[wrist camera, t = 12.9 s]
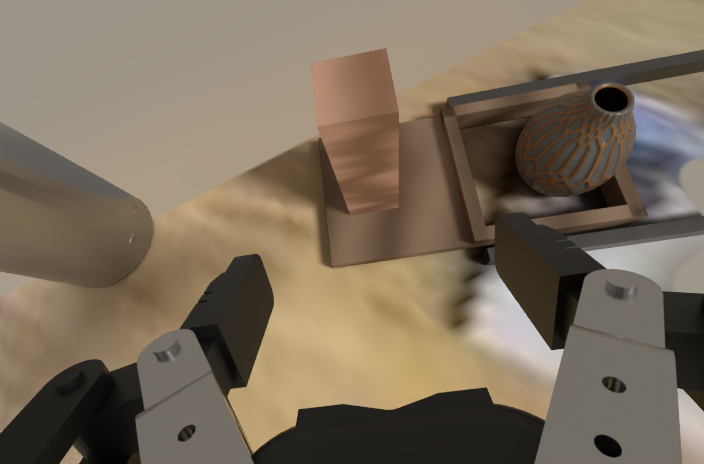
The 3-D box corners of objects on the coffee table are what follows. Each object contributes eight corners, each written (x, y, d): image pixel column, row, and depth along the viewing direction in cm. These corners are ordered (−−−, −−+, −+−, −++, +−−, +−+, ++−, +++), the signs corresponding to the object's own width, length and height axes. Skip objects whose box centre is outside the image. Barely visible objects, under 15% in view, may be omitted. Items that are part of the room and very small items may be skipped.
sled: (333, 268, 27) (281, 208, 15) (321, 144, 31) (271, 16, 19) (629, 224, 25) (845, 114, 13) (575, 97, 29) (703, -78, 17)
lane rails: (485, 265, 26) (490, 261, 25) (445, 108, 31) (447, 97, 29) (825, 216, 24) (852, 208, 22) (724, 57, 29) (741, 42, 27)
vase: (488, 159, 29) (524, 86, 21) (555, 122, 29) (618, 34, 21) (540, 223, 26) (605, 170, 18) (613, 182, 27) (710, 111, 18)
